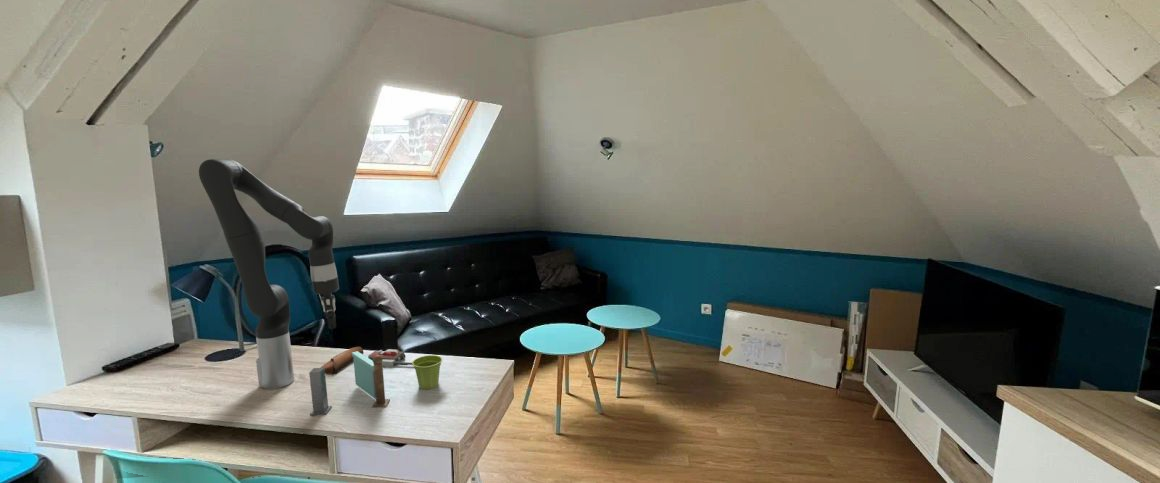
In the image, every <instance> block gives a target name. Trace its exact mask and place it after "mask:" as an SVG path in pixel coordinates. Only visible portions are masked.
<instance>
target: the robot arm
mask: <svg viewBox="0 0 1160 483" xmlns="http://www.w3.org/2000/svg"><path fill="white" fill-rule="evenodd" d="M198 176H199V180H200V183H201V184H202V186H203V188H204V190H205V193H206V195H207V196H208V199H209V200H210V202H211V204H212V206H213V208H214V211H215V214H216V216H217V219H218V221H219V224H220V226H221V229H222V231H223V235H224V238H225V241H226V244H227V246H228V249H229V251H230V253H231V256H232V258H233V261H234V265H235V267H236V270H237V272H238V275H239V278H240V281H241V285H242V289H243V294H244V299H245V302H246V306H247V308H248V310H249V311H250V313H251V314H252V315H253V316H255V317H256V318H257V317H258V318H259V319H258V323H257V325H256V327H255V339H256V340H255V341H256V347H257V359H256V360H255V364H256V371H257V372H256V373H257V380H258V387H259V388H263V389H266V390H267V389H268V390H269V389H271V390H274V389H278V388H279V389H280V388H283V387H286V386H288V385H290V384H292V383H293V382H294V381H295V373H294V372H295V371H294V365H293V355H292V346H291V337H290V336H291V335H290V329H289V328H290V327H289V326H290V323H291V315H290V314H291V313H290V312H291V310H290V309H291V308H290V300H289V296H288V293H287V291H286V289H285V288H284V287H282V286H280V285H279V284H270V281H269V279H268V276H267V272H266V244H265V241H264V240H263V235H262V233H261V231H260V228H259V226H258V224H257V222H256V221H255V219H253V217H252V216H251V215H250V214H249V213H248V212H247V211H246V210H245V209H244V208H243V206H242V205H241V204H240V202H239V199H238V197H237V194H236V192H235V190H236V191H239V192H241V193H243V194H245V195H247V196H248V197H250V198H252V199H253V200H254V201H255V202H256V203H257V204H258V205H259V206H260V207H261V208H262V209H263V210H264V211H265V212H267V213H268V214H270V215H271V216H272V217H274V218H275V219H278V220H279V221H281V222H283V223H285V224H287V225H288V226H289V227H290V228H291V229H292V230H293V231H294V232H296V233H297V234H298V235H300V237H303V238H305V239H307V240H309V241H311V247H310V248H309V249H308V253H307V254H308V259H309V267H310V271H309V272H310V278H311V279H310V280H311V285H312V292H313V293H314V294H315V295H323V296H321V297H320V298H321V299H320V301H321V305H322V309H323V312H324V313H325V318H326V321H327V327H328V329H329V330H333V329H336V328H337V322H336V313H335V311H336V297H335V294H333V293H335V292H337V291H338V290H339V289H340V285H339V277H338V272H337V267H336V266H337V265H336V263H335V258H334V252H333V251H334V250H333V243H334V228H333V224H332V222H331V220H330V219H329V218H328V217H326V216H323V215H317V216H310V215H309V214H307V213H306V212H305V208H304V207H303V206H302V205H300V204H298V203H297V202H295V201H293V200H292V199H290V198H289V197H287V196H285V195H283V194H281V193H280V192H278V191H277V190H276V189H274V188H271V187H270V186H269V185H267V184H266V183H265V182H263V181H262V180H261V179H259V178H258V177H256V175H254V174H253V173H252V172H250V171H249V170H248V169H247V168H246V167H244V166H243V165H242V164H241V163H239V162H237V161H235V159H234V160H233V159H229V158H209V159H206V160H204V161H203V162H201V164H199V168H198Z"/></svg>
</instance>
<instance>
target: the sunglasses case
mask: <svg viewBox="0 0 1160 483" xmlns="http://www.w3.org/2000/svg"><path fill="white" fill-rule="evenodd" d="M356 351H358V352H360V353H361V354H363V355H364V350H363V348H362V347H361V346H356V347H351V348H348V349H345V350H344V351H342V352H339V353H338V354H336V355H335V356H333V357H331V358H330V359H329V361H327V362H326V363H324V364H323V365H321V367H319V368H325V373H326V374H327V375H335V374H337V373H338V372H339V371H341V370H343V368H345V367H346V365H348V364H350V363H351V362H354V360H353V356H352V353H353V352H356ZM326 374H325V375H326Z"/></svg>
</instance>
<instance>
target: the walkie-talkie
mask: <svg viewBox="0 0 1160 483" xmlns="http://www.w3.org/2000/svg"><path fill="white" fill-rule="evenodd" d="M376 355H380V356H382V358H383V361H382V366H383V367H389V368H393V367H394V366H413V365H412V362H403V360H406V354H405V351H400V350H398V349H392V348H389V349H386V350H385V351H383V350H382V349H380V350H375V351H373V352H372V353H370V354H369V355H368V356H367V357H368V358H369V359H371V360H372V361H373V357H374V356H376Z"/></svg>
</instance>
